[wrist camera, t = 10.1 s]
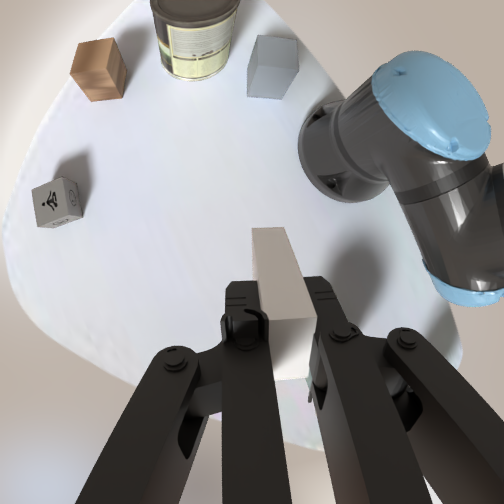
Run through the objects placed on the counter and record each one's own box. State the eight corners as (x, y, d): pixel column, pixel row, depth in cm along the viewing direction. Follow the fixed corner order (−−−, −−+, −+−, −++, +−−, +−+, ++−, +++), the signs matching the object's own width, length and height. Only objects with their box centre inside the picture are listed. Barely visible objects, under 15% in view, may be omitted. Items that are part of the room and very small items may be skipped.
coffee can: (146, 64, 37) (131, 5, 23) (189, 22, 38) (189, -38, 24) (201, 93, 39) (203, 36, 25) (242, 49, 39) (258, -11, 25)
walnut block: (126, 70, 37) (113, 37, 28) (122, 98, 37) (106, 68, 28) (96, 74, 36) (78, 43, 27) (90, 101, 36) (69, 73, 27)
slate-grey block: (279, 72, 40) (296, 39, 31) (281, 99, 40) (299, 70, 32) (247, 69, 40) (257, 34, 31) (246, 96, 40) (258, 65, 31)
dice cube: (83, 217, 37) (68, 214, 32) (54, 228, 36) (37, 227, 31) (76, 183, 37) (62, 176, 32) (48, 194, 36) (31, 189, 31)
